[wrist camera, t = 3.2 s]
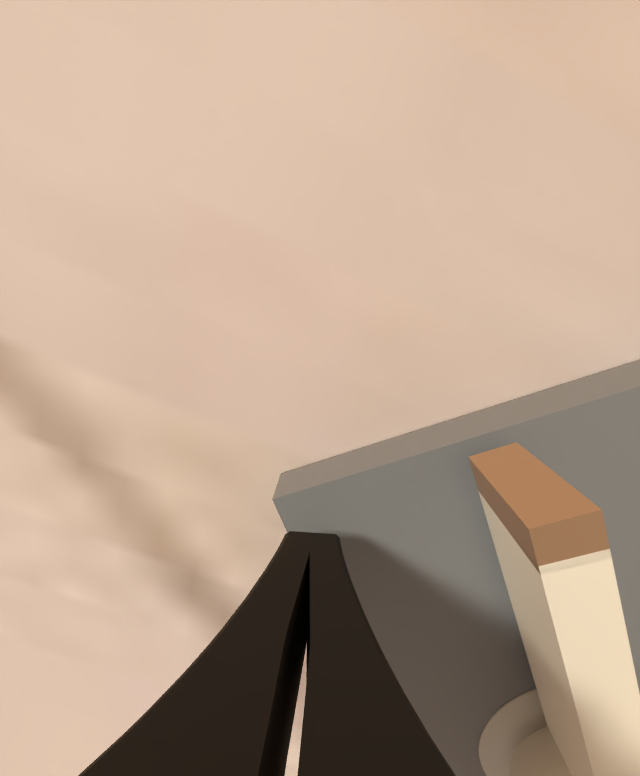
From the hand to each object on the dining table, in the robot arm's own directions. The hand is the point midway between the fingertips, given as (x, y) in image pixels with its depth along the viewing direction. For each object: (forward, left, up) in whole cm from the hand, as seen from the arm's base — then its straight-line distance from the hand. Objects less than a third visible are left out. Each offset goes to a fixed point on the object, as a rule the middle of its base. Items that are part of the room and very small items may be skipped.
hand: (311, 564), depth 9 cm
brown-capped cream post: (-6, -5, -1) cm, 8 cm away
